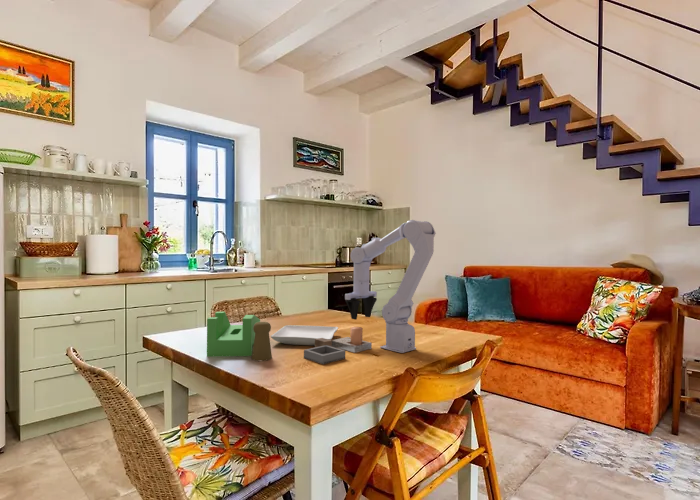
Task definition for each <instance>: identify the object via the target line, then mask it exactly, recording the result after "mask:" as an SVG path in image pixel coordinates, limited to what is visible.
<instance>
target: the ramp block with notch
mask: <svg viewBox="0 0 700 500" xmlns="http://www.w3.org/2000/svg"><path fill="white" fill-rule="evenodd" d="M214 314H215V315H214V316H212V317H211V316H209V317H208V318H207V319H206V324H207V325H206V358H207V357H209V358H210V357H214V358H215V357H217V358H218V357H252V353H253V346H254V339H255V332H254V330H253V327H254V324H255V323H257V322H261V319H260V318H259V317H258V316H257V315H255V314H245V315H244V317H243V318H242V324H231V322H230V320H229V318H228V316H227V313H226V311H216V312H215V313H214Z"/></svg>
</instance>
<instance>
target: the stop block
mask: <svg viewBox="0 0 700 500" xmlns="http://www.w3.org/2000/svg"><path fill="white" fill-rule="evenodd" d="M332 340H333V339H331V340H328V339H324V338H318V339H315V345H314V348H315V347H320V346H325V345H327V346H331V347H332Z"/></svg>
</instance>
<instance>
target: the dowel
mask: <svg viewBox="0 0 700 500" xmlns="http://www.w3.org/2000/svg"><path fill="white" fill-rule="evenodd" d="M363 331H364V330H363V327H361V326H351V327H350V344H353V345H360V344H362V340H363Z"/></svg>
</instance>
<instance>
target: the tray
mask: <svg viewBox="0 0 700 500" xmlns="http://www.w3.org/2000/svg"><path fill="white" fill-rule="evenodd" d="M303 359H306V360H308V361H311V362H314V363H317V364H321V365H326V364H330V363H333V362H338V361H342V360H346V350H343V349H340V348H336V347H331V346H327V345H325V346H320V347H315V346H314V347H311V348H307V349H303Z"/></svg>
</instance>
